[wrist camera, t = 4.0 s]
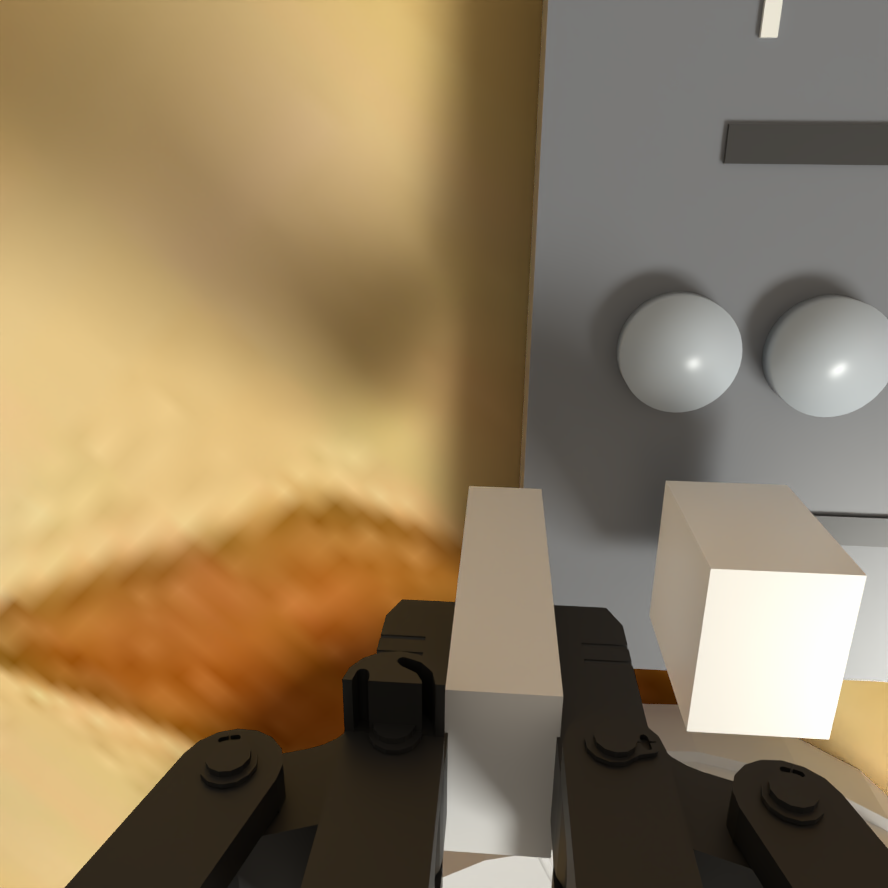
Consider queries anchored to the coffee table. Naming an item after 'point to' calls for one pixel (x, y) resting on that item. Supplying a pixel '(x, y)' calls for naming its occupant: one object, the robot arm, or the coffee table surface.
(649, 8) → the console
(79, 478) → the coffee table surface
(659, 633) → the cream block
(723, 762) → the dish
